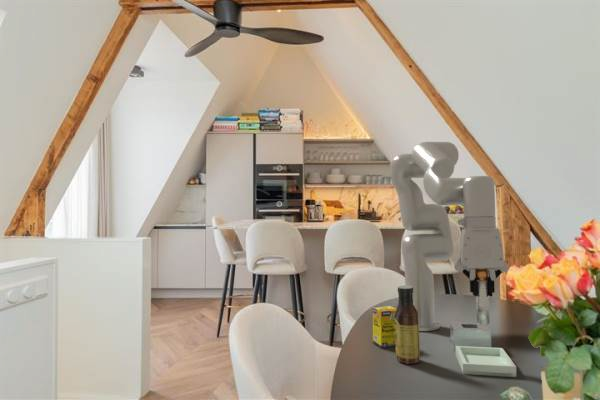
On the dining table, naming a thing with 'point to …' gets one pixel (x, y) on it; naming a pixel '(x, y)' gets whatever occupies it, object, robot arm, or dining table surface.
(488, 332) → the block
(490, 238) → the robot arm
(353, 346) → the dining table surface
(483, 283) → the pin
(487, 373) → the tray
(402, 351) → the sauce bottle
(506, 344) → the dining table surface
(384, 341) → the supplement box
